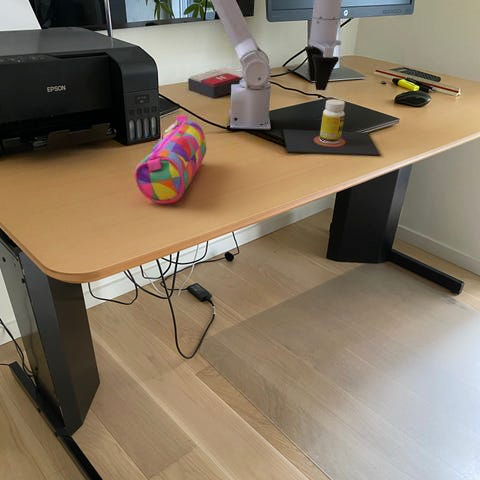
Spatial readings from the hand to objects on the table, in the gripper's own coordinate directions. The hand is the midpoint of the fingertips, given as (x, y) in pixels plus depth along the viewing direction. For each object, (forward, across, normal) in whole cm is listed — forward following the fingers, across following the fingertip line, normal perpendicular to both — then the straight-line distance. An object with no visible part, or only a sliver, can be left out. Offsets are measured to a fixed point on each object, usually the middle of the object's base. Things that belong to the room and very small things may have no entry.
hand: (317, 85), depth 117 cm
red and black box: (+10, +32, +21) cm, 39 cm away
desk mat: (+9, -11, -2) cm, 15 cm away
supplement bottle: (+9, -11, -2) cm, 15 cm away
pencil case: (+10, -33, +32) cm, 47 cm away
